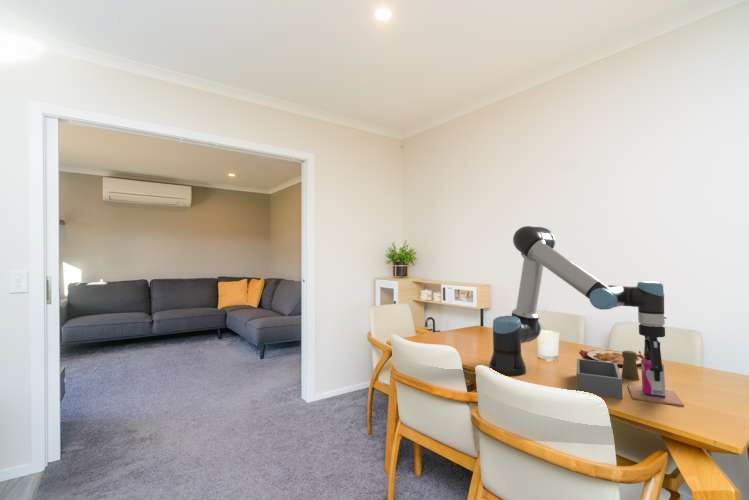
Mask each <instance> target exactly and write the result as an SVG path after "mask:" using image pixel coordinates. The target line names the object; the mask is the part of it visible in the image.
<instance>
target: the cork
mask: <svg viewBox="0 0 749 500" xmlns="http://www.w3.org/2000/svg"><path fill="white" fill-rule="evenodd" d="M621 352H622V357H623V358H624V361H623V367H621V368H622V369H621V378H622V379H625V380H627V381H628V380H629V381H639V380H640V376H639V368H638V367H637V364H636V359H637V355H638V354H637V352H636V351H633V350H623V351H621Z"/></svg>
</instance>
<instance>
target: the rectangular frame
mask: <svg viewBox="0 0 749 500" xmlns="http://www.w3.org/2000/svg"><path fill="white" fill-rule="evenodd" d="M585 359H586V358H576V373H575V374H576V377H575V378H576V391H577V390H579V391H584V392H589V393H593V394H596V395H595V396H598V397H605V398H612V399H619V400H623V378H622V377H621V376H622V374H621V372H620V370H619V369H620V368H619V367H618V366H617V363H612V362H603V361H594V360H585Z"/></svg>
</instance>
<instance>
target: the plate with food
mask: <svg viewBox="0 0 749 500" xmlns="http://www.w3.org/2000/svg"><path fill="white" fill-rule="evenodd" d="M622 352H623V351H616V350H609V349H598V350H597V349H596V350H590V351H586V350H582V349H580V353H581V355H582V359H585V360H594V361H603V362H612V363H617V366H618V368H619V369H621V368H623V361H624V358H623V357H622ZM641 360H645V357H644V355H642V352H641V350H639V351H638V354H637V359H636V364H637V368H638V370H642V367H641Z"/></svg>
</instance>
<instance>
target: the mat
mask: <svg viewBox="0 0 749 500" xmlns="http://www.w3.org/2000/svg"><path fill="white" fill-rule="evenodd" d="M627 388H628V391H629V394H630V396H631V399H632V400H637V401H643V402H652V403H656V402H658V403H657V404H663V403H665V404H664V405H669V404H671V406H676V405H677V406H676V407H683V408H684V407H685V405H684V403H683V401H682V400H681V398H680V397H679V396H678V394H677V393H676V391H675V390H669V389H665V398H664V397H656V396H648V395H645V393H644V391H643V390H642V386H640V385H639V386H638V385H631V384H627Z"/></svg>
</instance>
